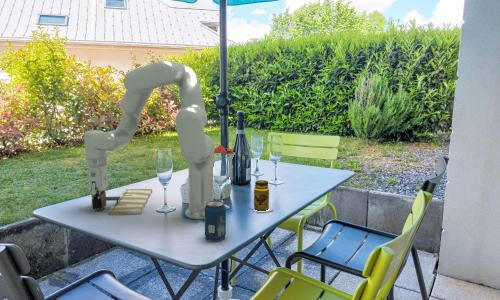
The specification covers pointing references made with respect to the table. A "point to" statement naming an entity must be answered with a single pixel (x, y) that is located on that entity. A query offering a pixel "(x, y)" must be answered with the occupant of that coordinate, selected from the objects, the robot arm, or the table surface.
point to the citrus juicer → (231, 154)
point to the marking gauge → (106, 199)
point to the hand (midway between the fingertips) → (99, 205)
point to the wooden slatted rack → (131, 202)
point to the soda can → (215, 220)
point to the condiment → (261, 195)
